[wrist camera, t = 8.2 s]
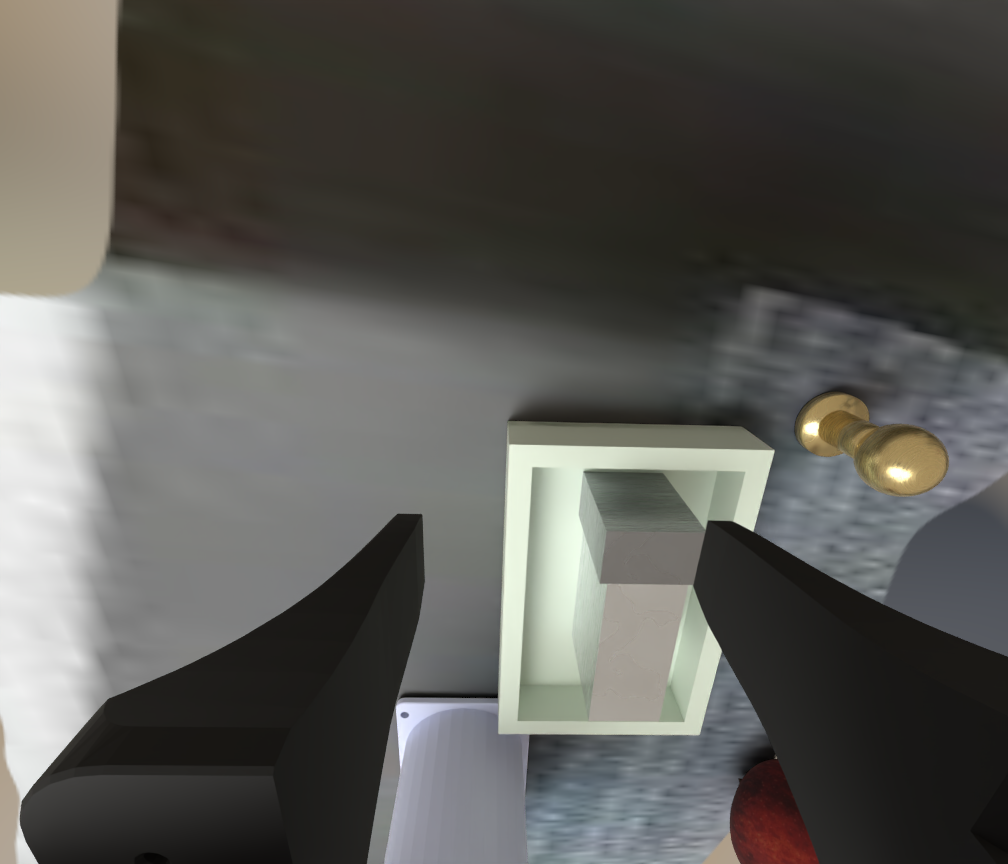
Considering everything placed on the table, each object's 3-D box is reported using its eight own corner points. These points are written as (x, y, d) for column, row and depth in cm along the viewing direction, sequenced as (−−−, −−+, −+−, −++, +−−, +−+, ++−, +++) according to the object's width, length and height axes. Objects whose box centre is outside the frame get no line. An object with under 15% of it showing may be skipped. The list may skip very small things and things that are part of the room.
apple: (805, 808, 33) (897, 974, 25) (696, 806, 32) (756, 973, 25) (839, 735, 30) (953, 896, 22) (720, 732, 30) (795, 894, 22)
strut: (634, 635, 26) (665, 721, 21) (566, 635, 26) (581, 721, 21) (662, 473, 22) (707, 532, 17) (583, 471, 22) (606, 531, 17)
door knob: (848, 452, 23) (954, 513, 17) (787, 450, 22) (875, 512, 17) (868, 392, 21) (988, 438, 16) (804, 390, 21) (903, 436, 16)
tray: (680, 690, 28) (699, 734, 26) (498, 688, 28) (498, 734, 25) (741, 426, 22) (774, 450, 19) (507, 420, 22) (509, 444, 19)
